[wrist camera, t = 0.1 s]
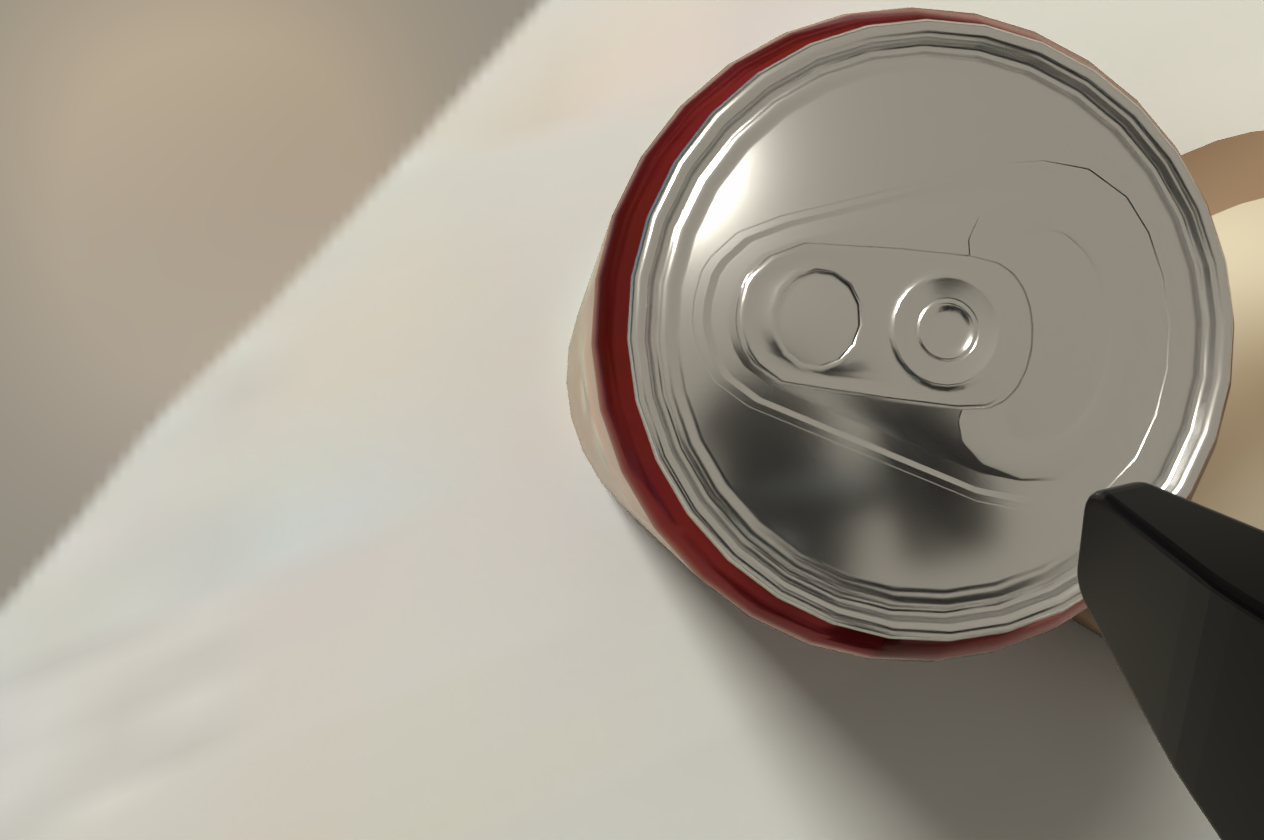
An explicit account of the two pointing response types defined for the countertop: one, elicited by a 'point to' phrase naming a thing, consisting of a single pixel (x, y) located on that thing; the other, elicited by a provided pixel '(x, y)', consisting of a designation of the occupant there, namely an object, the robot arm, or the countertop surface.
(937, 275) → the soda can
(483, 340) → the countertop surface
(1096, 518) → the robot arm
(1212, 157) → the pedestal
